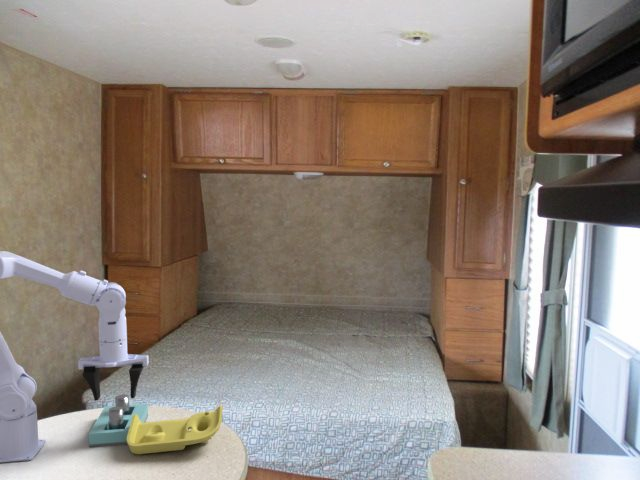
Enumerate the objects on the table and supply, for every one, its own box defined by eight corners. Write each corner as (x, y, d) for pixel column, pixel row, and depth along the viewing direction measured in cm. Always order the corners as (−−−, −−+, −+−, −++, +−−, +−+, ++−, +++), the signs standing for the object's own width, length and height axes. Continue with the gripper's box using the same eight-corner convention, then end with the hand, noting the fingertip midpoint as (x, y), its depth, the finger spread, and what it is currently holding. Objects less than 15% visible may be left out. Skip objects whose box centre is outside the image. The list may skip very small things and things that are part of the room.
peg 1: (114, 423, 118) (112, 399, 117) (119, 418, 121) (118, 394, 120) (127, 423, 118) (125, 399, 117) (132, 418, 121) (130, 394, 120)
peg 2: (110, 432, 114) (109, 407, 114) (124, 431, 115) (123, 405, 114) (108, 438, 111) (107, 412, 111) (122, 436, 112) (122, 410, 111)
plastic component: (124, 447, 103) (134, 408, 112) (132, 468, 107) (141, 429, 116) (220, 437, 105) (223, 399, 113) (225, 458, 108) (227, 420, 117)
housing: (89, 447, 109) (88, 434, 108) (105, 418, 122) (105, 406, 122) (137, 443, 110) (136, 430, 110) (147, 415, 124) (147, 403, 124)
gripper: (72, 345, 105) (75, 407, 107) (144, 342, 108) (145, 403, 109) (82, 336, 112) (85, 394, 114) (149, 333, 115) (151, 390, 116)
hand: (115, 397), depth 112 cm, fingers open, 7 cm apart
